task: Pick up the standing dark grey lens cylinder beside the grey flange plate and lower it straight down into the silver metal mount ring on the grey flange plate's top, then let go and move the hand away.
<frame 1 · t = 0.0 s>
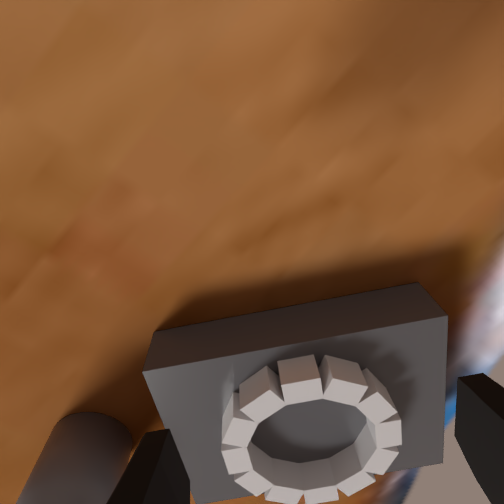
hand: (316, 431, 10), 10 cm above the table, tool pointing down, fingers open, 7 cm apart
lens: (92, 440, 24), on the table
grey flange plate: (297, 379, 22), on the table
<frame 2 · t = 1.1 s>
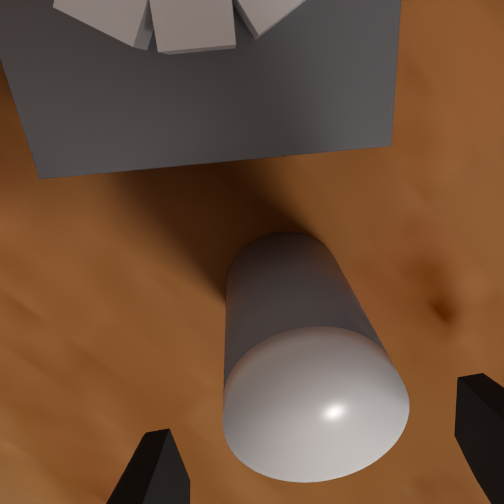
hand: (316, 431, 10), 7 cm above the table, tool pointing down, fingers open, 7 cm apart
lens: (283, 284, 16), on the table
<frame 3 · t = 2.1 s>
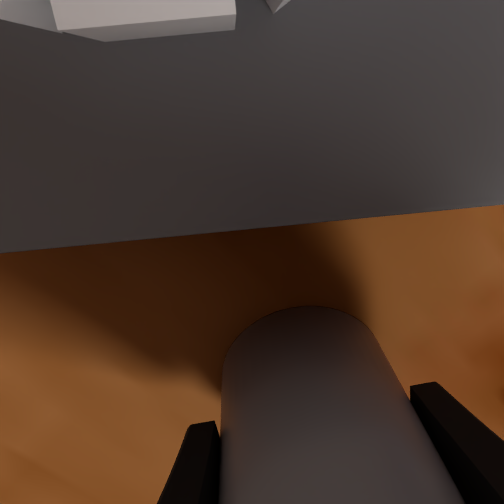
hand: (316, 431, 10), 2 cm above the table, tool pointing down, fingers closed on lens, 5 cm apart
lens: (302, 374, 12), on the table, touching gripper
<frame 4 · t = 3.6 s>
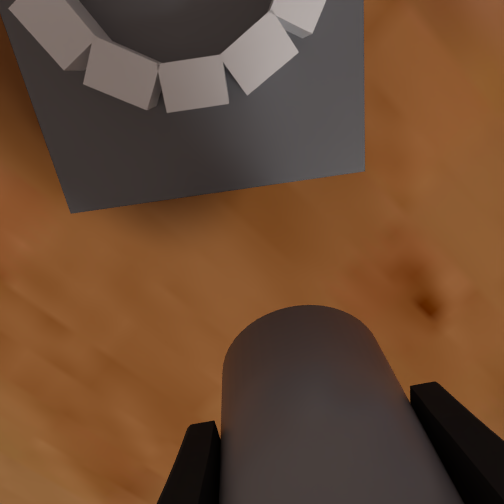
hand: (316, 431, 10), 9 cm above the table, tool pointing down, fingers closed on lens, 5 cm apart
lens: (302, 372, 12), point 7 cm above the table, touching gripper
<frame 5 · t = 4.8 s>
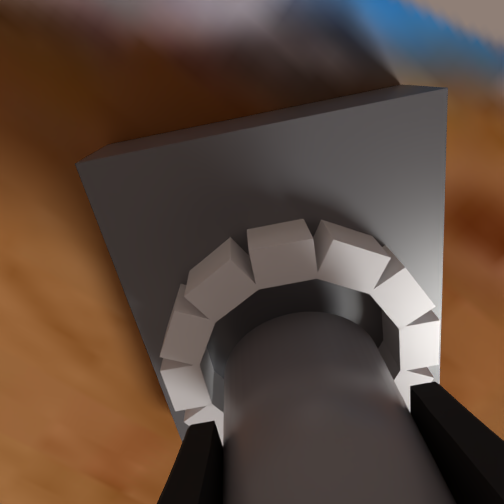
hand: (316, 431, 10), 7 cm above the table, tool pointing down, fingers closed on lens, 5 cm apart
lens: (302, 375, 12), point 5 cm above the table, touching gripper
grey flange plate: (283, 291, 16), on the table
when the fingers open (6 cm above the table, at t = 5.5 s): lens stays where it is, resting on grey flange plate.
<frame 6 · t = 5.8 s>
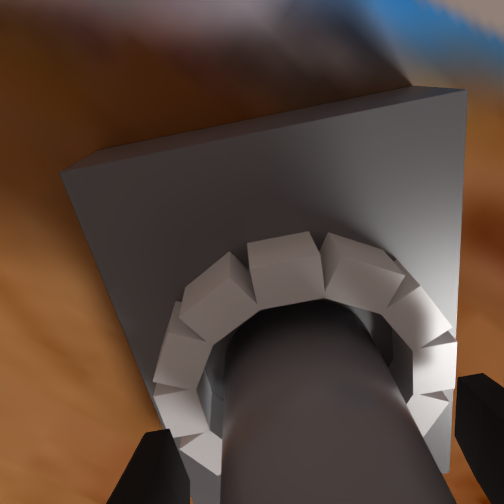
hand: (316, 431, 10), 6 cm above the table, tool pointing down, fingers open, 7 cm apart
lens: (300, 363, 12), point 3 cm above the table, touching grey flange plate
grey flange plate: (286, 305, 15), on the table
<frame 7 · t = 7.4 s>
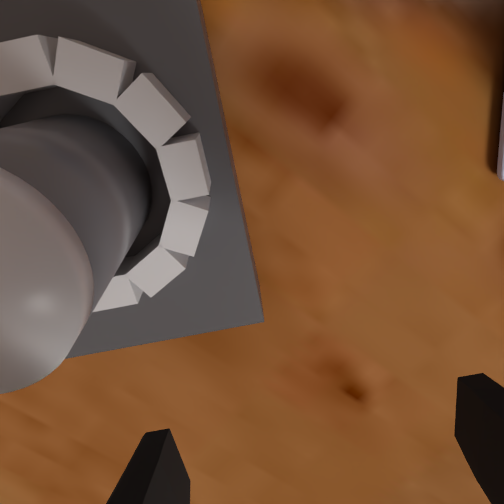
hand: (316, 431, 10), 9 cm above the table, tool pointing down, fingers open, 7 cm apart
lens: (81, 188, 13), point 3 cm above the table, touching grey flange plate
grey flange plate: (110, 163, 16), on the table
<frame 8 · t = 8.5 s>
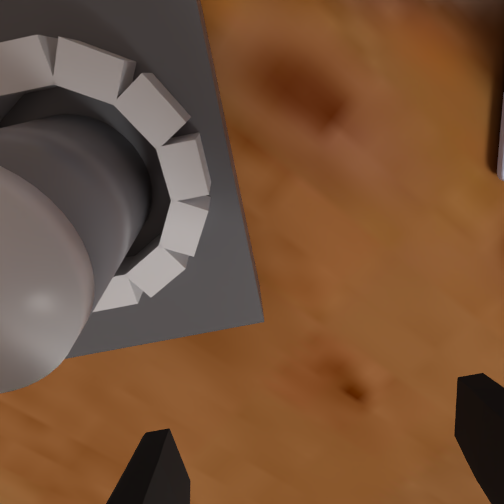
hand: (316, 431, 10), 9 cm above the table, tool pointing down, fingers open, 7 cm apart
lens: (81, 188, 13), point 3 cm above the table, touching grey flange plate
grey flange plate: (110, 163, 16), on the table
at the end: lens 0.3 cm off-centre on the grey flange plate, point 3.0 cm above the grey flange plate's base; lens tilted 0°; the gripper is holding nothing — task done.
